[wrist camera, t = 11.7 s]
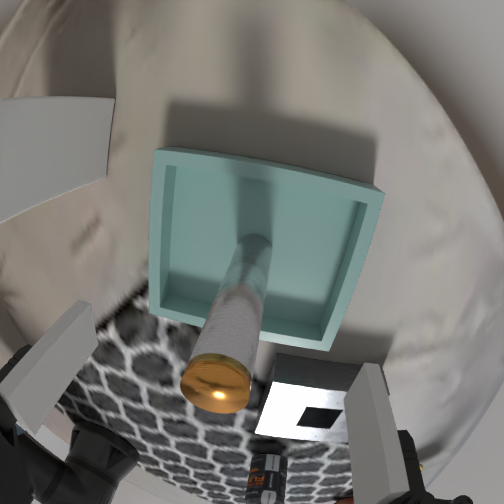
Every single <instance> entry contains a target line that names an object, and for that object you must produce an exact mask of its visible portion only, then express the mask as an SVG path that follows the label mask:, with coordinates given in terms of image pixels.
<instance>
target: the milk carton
mask: <svg viewBox="0 0 504 504" xmlns="http://www.w3.org/2000/svg"><path fill="white" fill-rule="evenodd" d="M114 103H115V99H113V98H99V97H76V96H38V97H16V98H2V99H0V223H2V222H4V221H6V220H8V219H10V218H12V217H14V216H16V215H18V214H20V213H22V212H25V211H27V210H29V209H31V208H33V207H35V206H37V205H40V204H42V203H44V202H46V201H49V200H51V199H53V198H56V197H58V196H60V195H63V194H65V193H67V192H70V191H72V190H75V189H77V188H80V187H82V186H85V185H88V184H90V183H93V182H96V181H98V180H101V179H104V178H106V172H107V160H108V149H109V140H110V131H111V123H112V116H113V109H114Z"/></svg>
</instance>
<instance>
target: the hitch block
mask: <svg viewBox="0 0 504 504" xmlns="http://www.w3.org/2000/svg"><path fill="white" fill-rule="evenodd" d="M361 368H362V365H353V364H345V363H337V362H329V361H322V360H315V359H308V358H302V357H296V356H290V355H284V354H278V353H276V355H275V359H274V362H273V365H272V368H271V371H270V374H269V378H268V381H267V384H266V387H265V390H264V393H263V396H262V399H261V402H260V405H259V408H258V415H257V422H256V429H255V433H257V434H263V435H269V436H277V437H284V438H293V439H302V440H313V441H327V442H349V441H348V432H347V424H346V416H345V408H344V401H343V399H344V397H345V396H346V394H347V392H348V391H349V389H350V387H351V386H352V384H353V382H354V380H355V379H356V377H357V375H358V373H359V372H360V370H361ZM380 370H381V373H382V376H383V380H384V383H385V387H386V390H387V394H388V396H389V395H390V393H389V389H388V386H387V382H386V378H385V375H384V371H383V368H382V367H380Z"/></svg>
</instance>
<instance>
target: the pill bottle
mask: <svg viewBox="0 0 504 504" xmlns="http://www.w3.org/2000/svg"><path fill="white" fill-rule="evenodd" d="M287 466H288V461H287V460H286V459H285V458H284V457H282V456H279V455H274V454H260V455H257V456H255V457H253V458H252V461H251V467H250V473H249V478H248V484H247V490H246V496H245V503H246V504H284V498H285V489H286V478H287Z"/></svg>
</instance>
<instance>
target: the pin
mask: <svg viewBox="0 0 504 504" xmlns="http://www.w3.org/2000/svg"><path fill="white" fill-rule="evenodd" d="M271 258H272V246H271V243H270V242H269V241H268V239H267V238H265V237H264V236H262V235H259V234H248V235H246V236H244V237H243V238H242V239H241V240H240V241H239V243H238V245H237V247H236V250H235V252H234V254H233V257H232V259H231V261H230V264H229V266H228V269H227V271H226V273H225V276H224V278H223V280H222V283H221V285H220V287H219V290H218V292H217V295H216V297H215V299H214V302H213V304H212V307H211V309H210V311H209V314H208V316H207V319H206V321H205V323H204V326H203V328H202V331H201V333H200V336H199V338H198V340H197V343H196V345H195V348H194V350H193V353H192V355H191V358H190V360H189V362H188V365H187V367H186V370H185V372H184V375H183V377H182V380H181V383H180V388H181V391H182V393H183V395H184V396H185V397H186V398H187V399H188V400H189V401H190V402H191V403H193V404H194V405H196V406H198V407H199V408H202V409H204V410H207V411H211V412H215V413H233V412H237V411H239V410H241V409H243V408H244V407H245V406H246V405H247V404H248V401H249V395H250V390H251V384H252V378H253V372H254V366H255V360H256V354H257V348H258V342H259V336H260V329H261V323H262V317H263V310H264V304H265V298H266V291H267V285H268V278H269V271H270V265H271Z"/></svg>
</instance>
